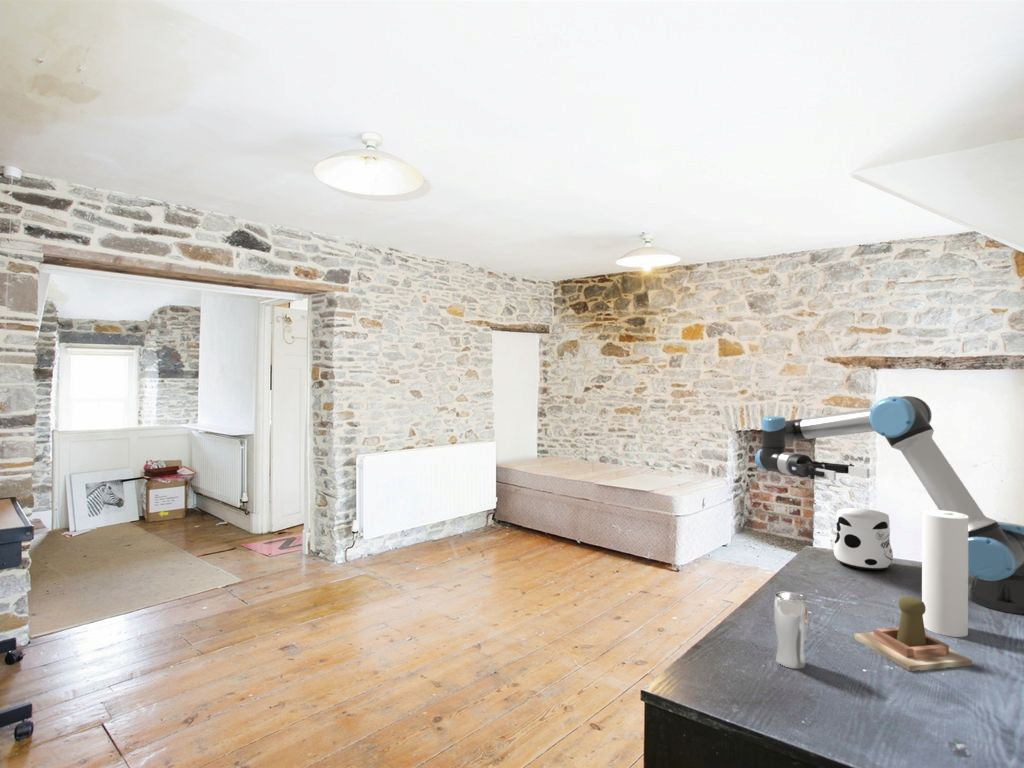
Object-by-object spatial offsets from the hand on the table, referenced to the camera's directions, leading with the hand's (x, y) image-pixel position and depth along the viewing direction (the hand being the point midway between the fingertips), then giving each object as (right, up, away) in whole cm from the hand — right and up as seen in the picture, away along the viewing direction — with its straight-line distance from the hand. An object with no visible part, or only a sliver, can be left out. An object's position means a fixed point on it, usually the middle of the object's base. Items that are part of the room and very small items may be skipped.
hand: (851, 474), depth 172 cm
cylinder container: (+8, -35, -26) cm, 45 cm away
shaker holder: (-9, -35, -38) cm, 53 cm away
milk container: (+17, -35, +23) cm, 45 cm away
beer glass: (-40, -36, -43) cm, 69 cm away
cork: (-9, -34, -38) cm, 52 cm away
